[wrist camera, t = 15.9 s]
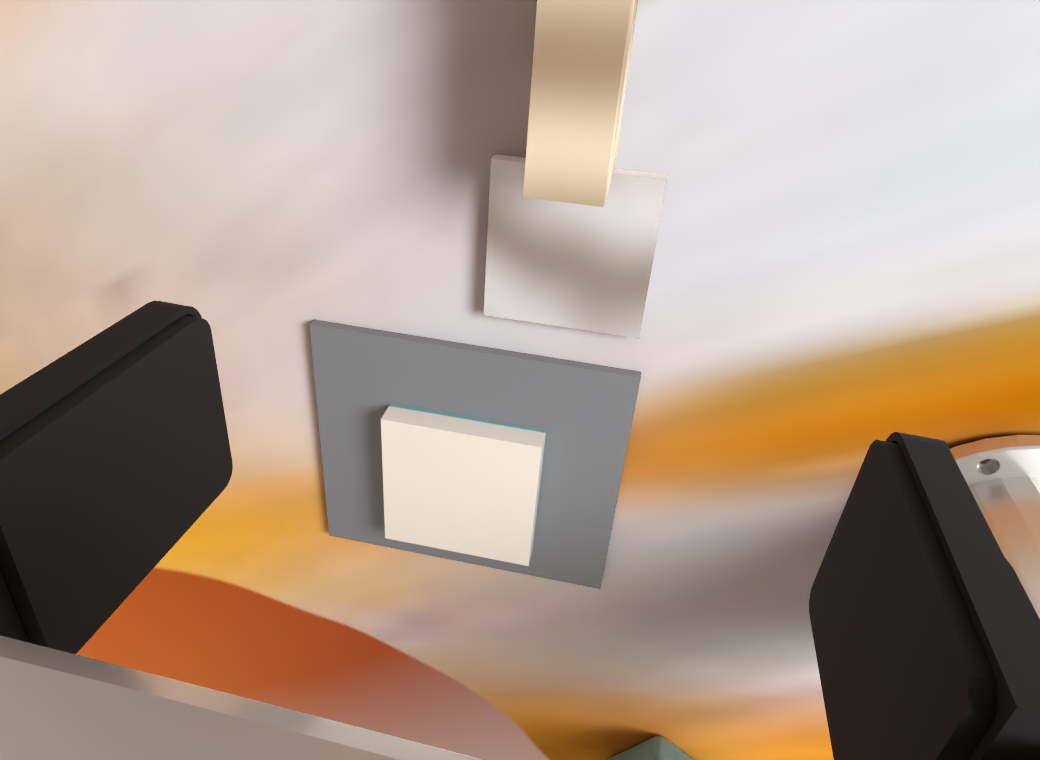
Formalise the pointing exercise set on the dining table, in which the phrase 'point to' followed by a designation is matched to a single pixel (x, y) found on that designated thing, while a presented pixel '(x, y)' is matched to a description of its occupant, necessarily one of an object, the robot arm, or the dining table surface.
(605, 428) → the mat
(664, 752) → the flower pot
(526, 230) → the turner
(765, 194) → the dining table surface
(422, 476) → the tile
